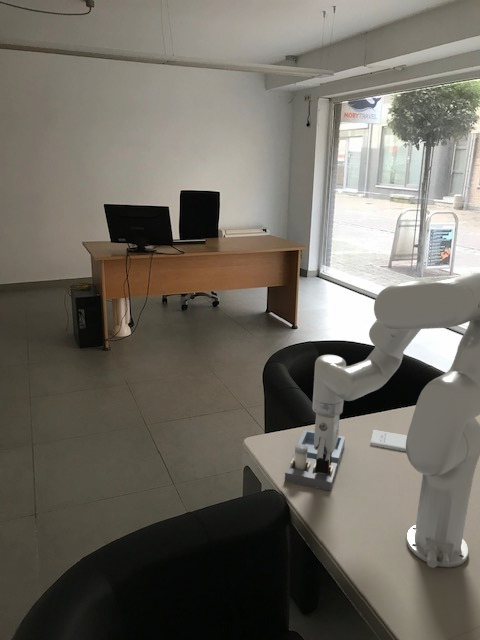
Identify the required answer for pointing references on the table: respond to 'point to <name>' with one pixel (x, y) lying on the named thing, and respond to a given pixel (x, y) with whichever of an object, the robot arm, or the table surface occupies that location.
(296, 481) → the fuse holder
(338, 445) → the tray
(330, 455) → the marked fuse
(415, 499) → the table surface
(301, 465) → the fuse
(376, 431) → the external hard drive
